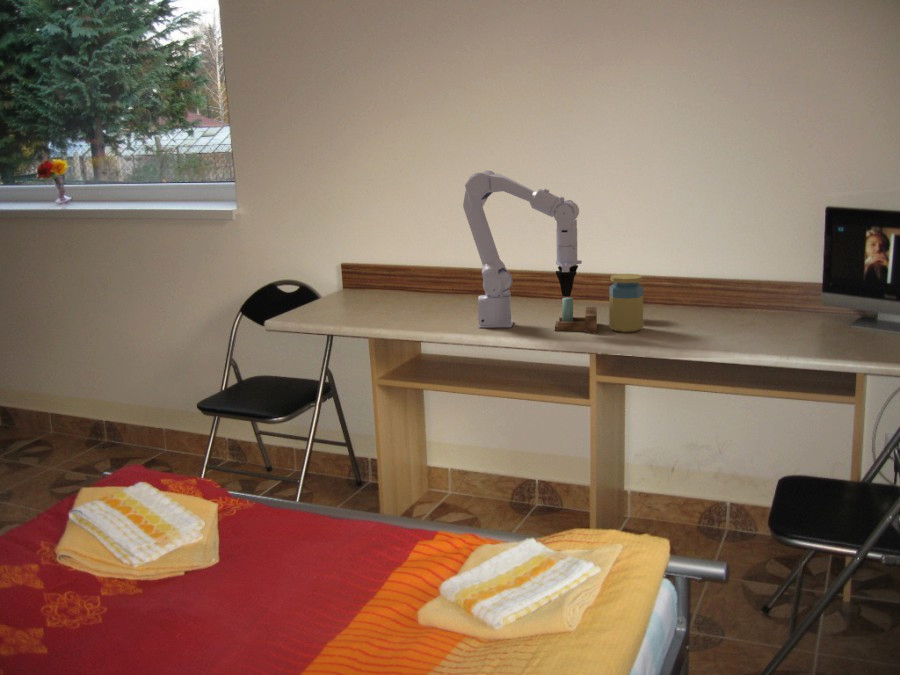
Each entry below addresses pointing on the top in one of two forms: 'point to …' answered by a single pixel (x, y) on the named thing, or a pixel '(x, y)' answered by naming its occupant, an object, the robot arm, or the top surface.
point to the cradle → (580, 322)
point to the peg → (567, 309)
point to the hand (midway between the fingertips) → (567, 293)
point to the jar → (626, 303)
